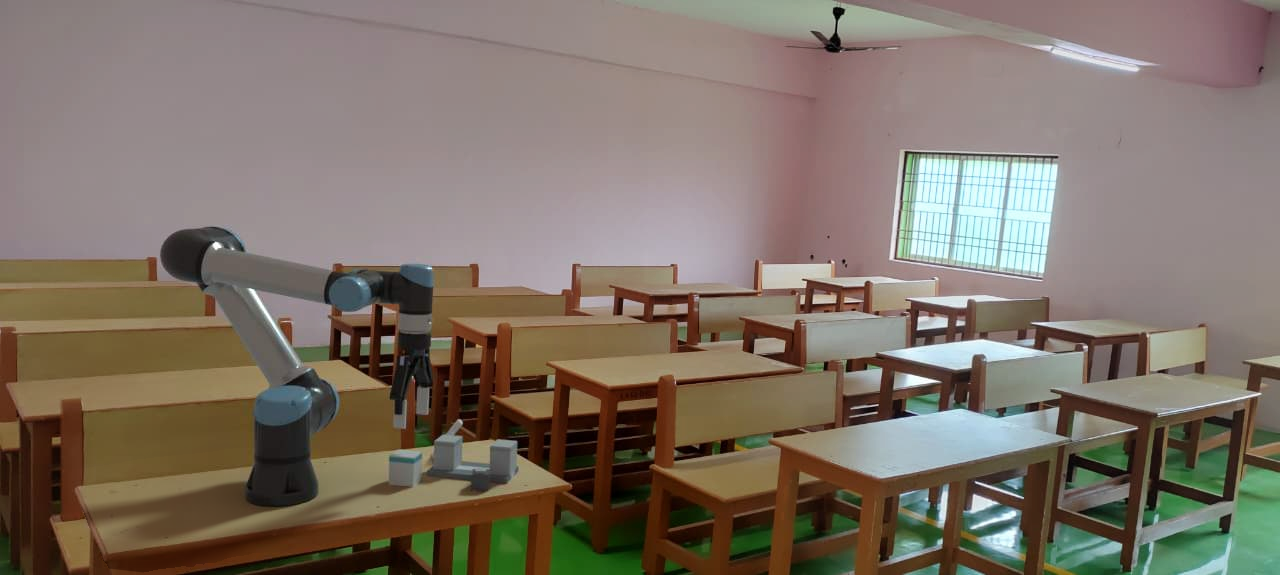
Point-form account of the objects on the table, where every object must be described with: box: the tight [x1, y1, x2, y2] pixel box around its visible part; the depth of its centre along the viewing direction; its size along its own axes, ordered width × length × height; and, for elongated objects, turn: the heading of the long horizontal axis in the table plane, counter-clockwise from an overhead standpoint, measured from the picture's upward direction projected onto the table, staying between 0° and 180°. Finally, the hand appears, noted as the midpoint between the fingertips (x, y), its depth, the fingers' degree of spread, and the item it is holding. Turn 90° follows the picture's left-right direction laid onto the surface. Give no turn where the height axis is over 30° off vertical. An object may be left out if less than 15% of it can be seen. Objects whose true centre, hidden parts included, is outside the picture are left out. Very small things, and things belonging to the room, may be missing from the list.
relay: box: [470, 468, 490, 492], centre depth 217 cm, size 4×4×5 cm
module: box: [388, 449, 423, 488], centre depth 218 cm, size 6×5×7 cm
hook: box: [431, 418, 464, 459], centre depth 240 cm, size 8×12×7 cm
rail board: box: [426, 434, 519, 484], centre depth 227 cm, size 20×10×8 cm, turn 82°
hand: (411, 421), depth 216 cm, fingers open, 13 cm apart
